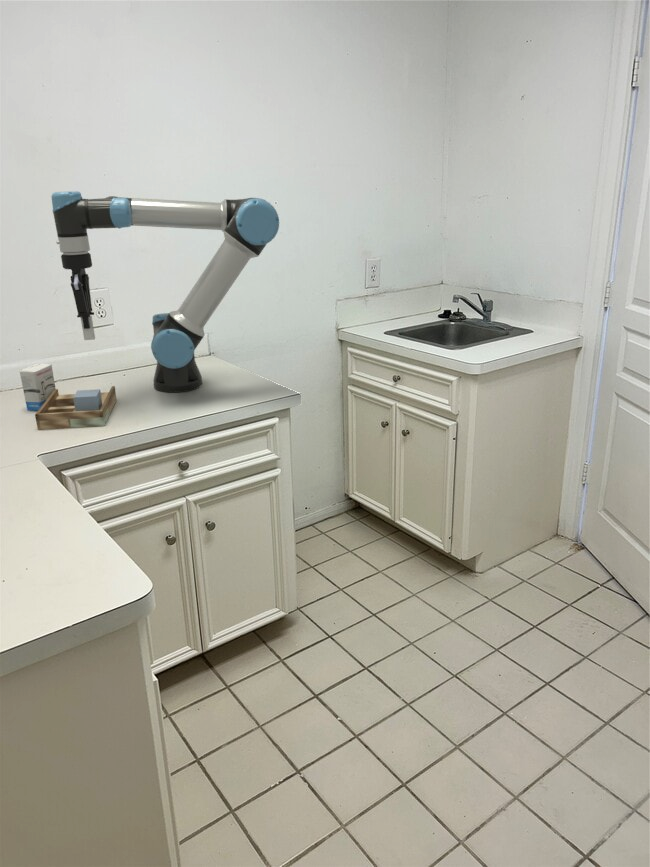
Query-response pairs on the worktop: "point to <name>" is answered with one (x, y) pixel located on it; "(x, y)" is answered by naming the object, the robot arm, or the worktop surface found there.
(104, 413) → the wooden tray
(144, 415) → the worktop surface
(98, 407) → the block
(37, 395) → the ink box
